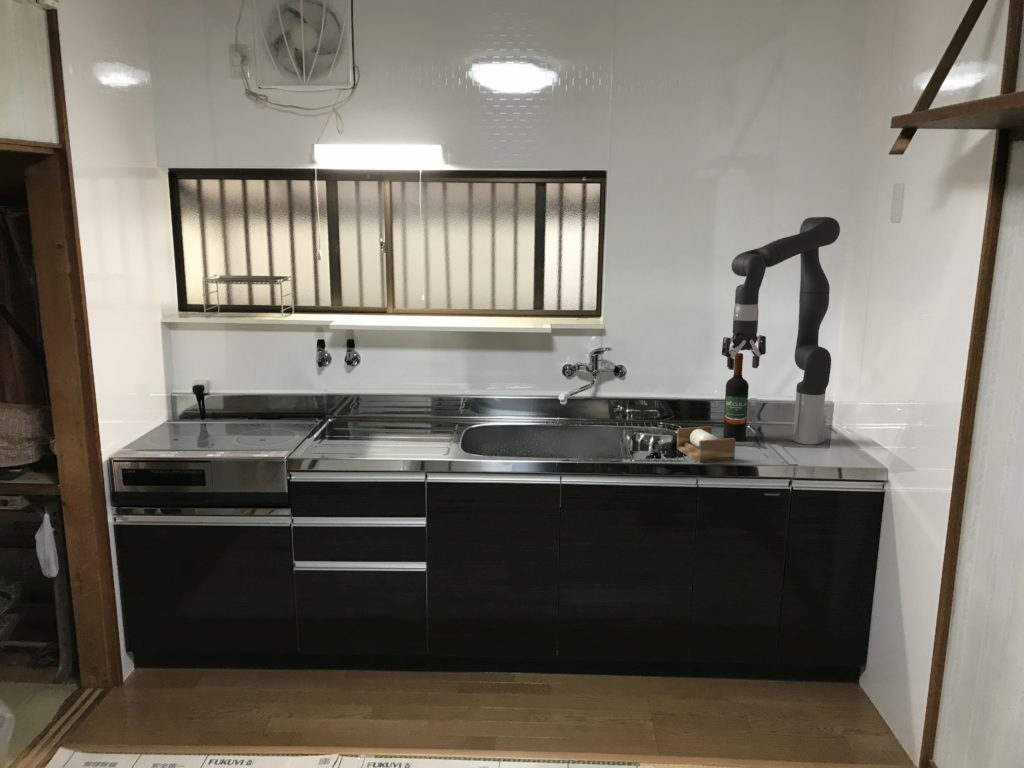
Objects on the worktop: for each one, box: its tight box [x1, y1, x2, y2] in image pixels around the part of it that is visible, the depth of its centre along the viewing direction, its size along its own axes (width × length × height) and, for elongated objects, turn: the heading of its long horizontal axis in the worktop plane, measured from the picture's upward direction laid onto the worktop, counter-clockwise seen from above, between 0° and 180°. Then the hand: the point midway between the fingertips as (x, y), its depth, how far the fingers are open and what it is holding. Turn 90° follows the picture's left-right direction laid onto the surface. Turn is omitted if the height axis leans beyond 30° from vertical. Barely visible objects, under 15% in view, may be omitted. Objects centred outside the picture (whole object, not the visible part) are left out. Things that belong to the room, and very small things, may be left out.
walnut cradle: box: [676, 425, 736, 463], centre depth 245 cm, size 16×12×7 cm
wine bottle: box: [722, 352, 750, 442], centre depth 260 cm, size 8×8×30 cm
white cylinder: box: [690, 429, 720, 448], centre depth 245 cm, size 10×6×6 cm
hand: (742, 368), depth 241 cm, fingers open, 8 cm apart
